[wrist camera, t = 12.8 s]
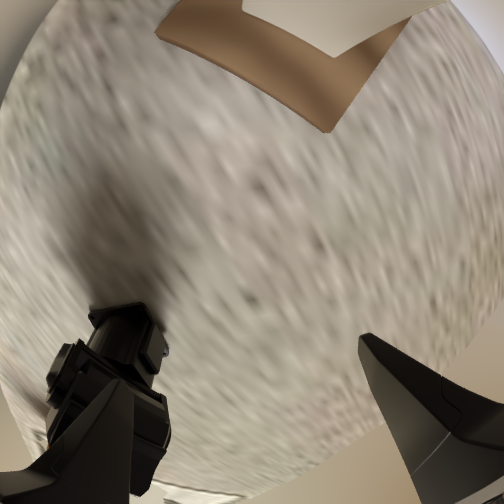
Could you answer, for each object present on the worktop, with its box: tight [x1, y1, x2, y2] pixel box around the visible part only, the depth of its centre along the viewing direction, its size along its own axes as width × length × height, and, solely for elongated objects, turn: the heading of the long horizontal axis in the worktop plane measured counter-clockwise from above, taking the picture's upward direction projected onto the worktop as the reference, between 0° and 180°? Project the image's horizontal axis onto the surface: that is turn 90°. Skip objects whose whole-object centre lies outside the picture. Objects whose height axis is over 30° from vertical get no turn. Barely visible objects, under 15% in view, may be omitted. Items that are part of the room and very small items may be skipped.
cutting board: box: [155, 0, 412, 133], centre depth 13 cm, size 16×14×2 cm
